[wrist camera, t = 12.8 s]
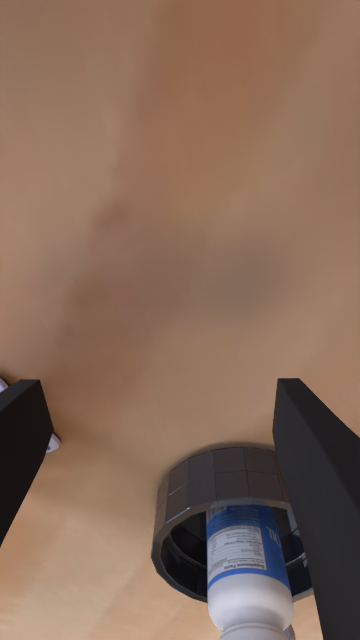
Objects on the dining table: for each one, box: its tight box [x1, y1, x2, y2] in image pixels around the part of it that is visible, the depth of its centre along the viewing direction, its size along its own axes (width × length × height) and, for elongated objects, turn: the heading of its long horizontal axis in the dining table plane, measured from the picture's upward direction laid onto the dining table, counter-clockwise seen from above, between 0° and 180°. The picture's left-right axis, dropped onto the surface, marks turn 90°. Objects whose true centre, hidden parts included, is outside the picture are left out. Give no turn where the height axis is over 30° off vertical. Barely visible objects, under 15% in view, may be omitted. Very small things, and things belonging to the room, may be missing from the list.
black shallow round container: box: [151, 447, 314, 603], centre depth 26 cm, size 13×13×4 cm
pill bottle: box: [206, 504, 294, 640], centre depth 23 cm, size 6×5×10 cm
